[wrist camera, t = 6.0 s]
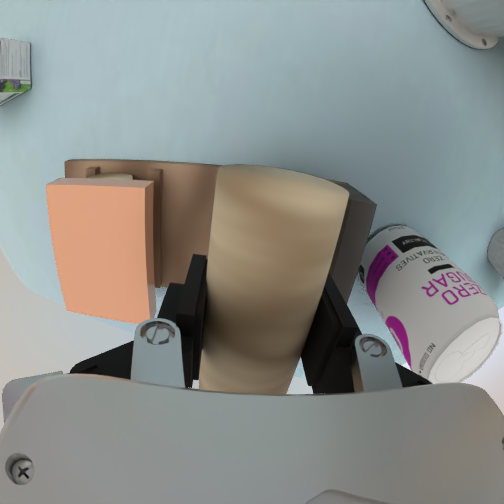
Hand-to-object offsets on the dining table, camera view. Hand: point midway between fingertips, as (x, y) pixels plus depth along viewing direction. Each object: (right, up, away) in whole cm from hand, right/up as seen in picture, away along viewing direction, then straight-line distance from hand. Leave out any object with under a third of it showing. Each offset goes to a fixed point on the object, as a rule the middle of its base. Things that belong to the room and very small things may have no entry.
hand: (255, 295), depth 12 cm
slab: (-11, +2, +9) cm, 15 cm away
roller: (0, 0, +1) cm, 1 cm away
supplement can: (+14, +1, +17) cm, 22 cm away
